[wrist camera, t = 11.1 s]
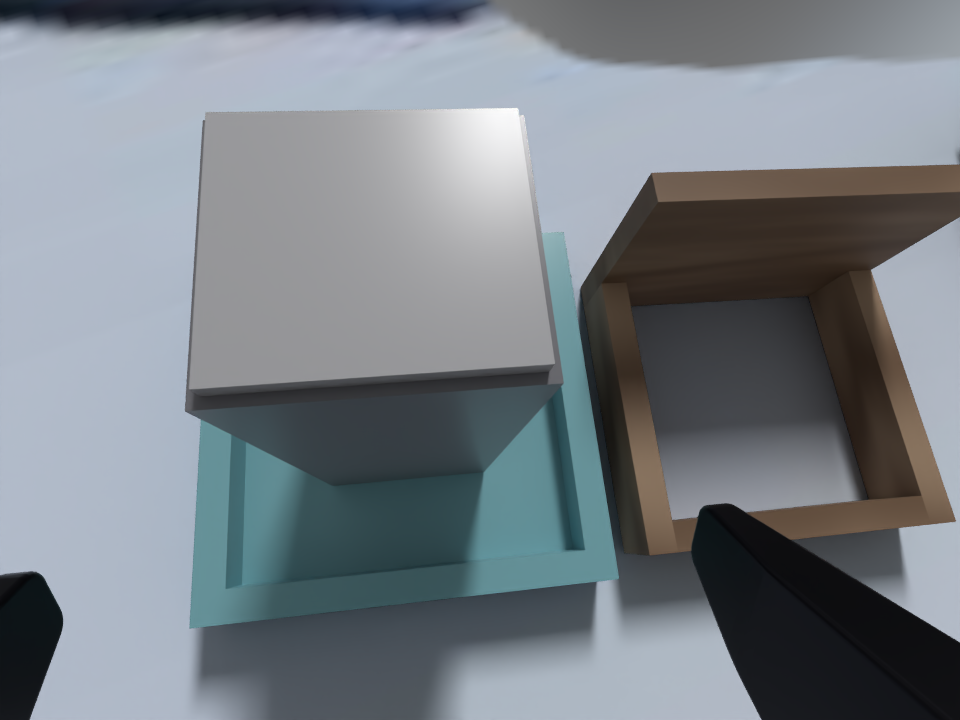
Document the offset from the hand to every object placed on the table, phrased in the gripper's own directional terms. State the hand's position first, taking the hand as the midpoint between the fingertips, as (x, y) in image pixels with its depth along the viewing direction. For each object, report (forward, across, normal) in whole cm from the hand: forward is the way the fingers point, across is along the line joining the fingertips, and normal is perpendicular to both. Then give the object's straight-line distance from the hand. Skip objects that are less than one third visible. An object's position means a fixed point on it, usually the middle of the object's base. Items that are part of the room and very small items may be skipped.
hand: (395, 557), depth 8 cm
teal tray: (+13, 0, +6) cm, 14 cm away
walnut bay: (+12, -14, +6) cm, 19 cm away
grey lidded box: (+12, 0, +5) cm, 13 cm away
